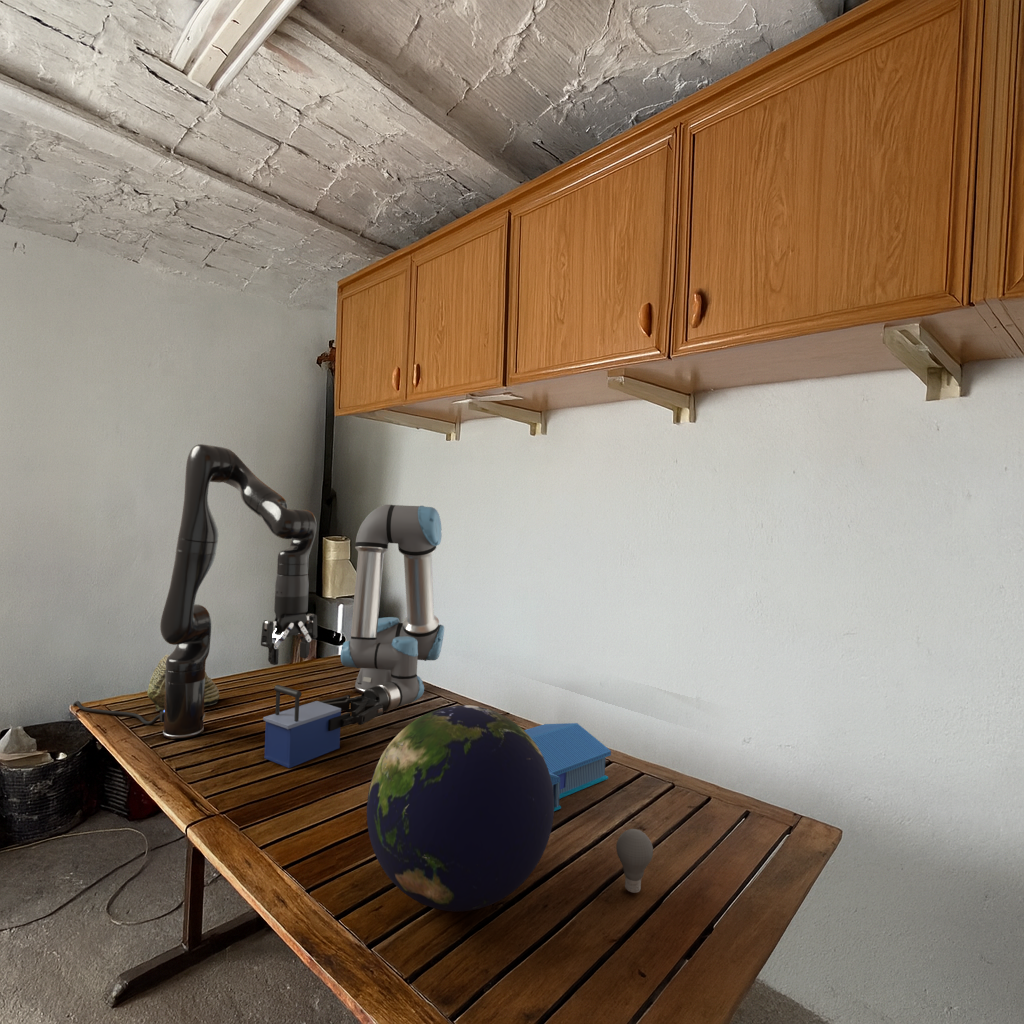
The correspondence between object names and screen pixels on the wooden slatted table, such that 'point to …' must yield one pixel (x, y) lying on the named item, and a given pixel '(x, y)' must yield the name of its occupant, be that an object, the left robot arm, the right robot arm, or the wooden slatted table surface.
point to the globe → (460, 808)
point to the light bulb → (634, 857)
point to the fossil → (158, 687)
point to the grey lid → (298, 710)
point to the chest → (300, 741)
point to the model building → (570, 757)
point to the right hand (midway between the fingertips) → (315, 720)
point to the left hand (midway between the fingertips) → (289, 660)
